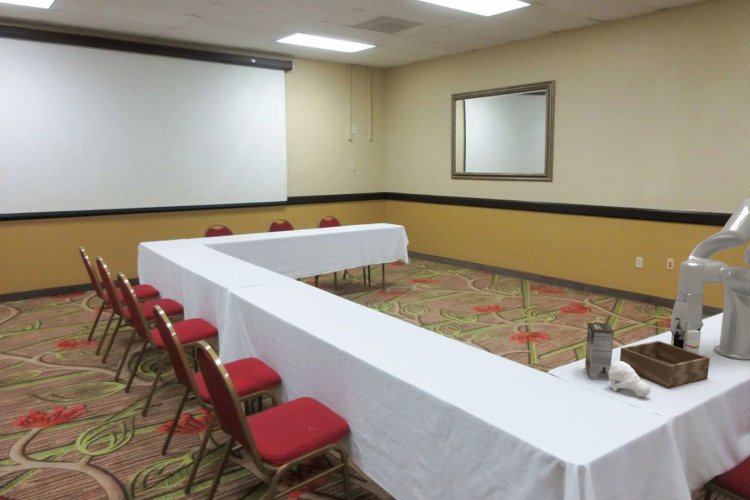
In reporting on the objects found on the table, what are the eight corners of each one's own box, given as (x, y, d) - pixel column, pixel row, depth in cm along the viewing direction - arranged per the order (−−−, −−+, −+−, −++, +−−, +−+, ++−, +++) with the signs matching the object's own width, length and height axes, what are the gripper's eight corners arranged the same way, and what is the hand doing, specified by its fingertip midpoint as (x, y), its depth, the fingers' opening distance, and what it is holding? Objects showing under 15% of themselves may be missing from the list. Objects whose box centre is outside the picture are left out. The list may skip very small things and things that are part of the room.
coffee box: (584, 368, 178) (587, 321, 175) (604, 369, 176) (608, 322, 174) (589, 379, 169) (592, 330, 166) (610, 381, 167) (614, 331, 165)
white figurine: (619, 356, 164) (658, 372, 155) (614, 382, 166) (652, 399, 157) (607, 361, 160) (646, 377, 151) (603, 386, 162) (641, 404, 153)
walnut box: (656, 360, 185) (658, 340, 184) (707, 379, 169) (709, 358, 168) (619, 368, 178) (620, 347, 177) (668, 388, 162) (670, 366, 161)
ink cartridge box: (698, 365, 181) (703, 323, 179) (684, 365, 180) (689, 323, 178) (682, 355, 189) (686, 315, 187) (668, 356, 189) (672, 316, 187)
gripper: (696, 292, 188) (691, 341, 191) (662, 297, 181) (657, 348, 184) (717, 297, 181) (711, 348, 184) (682, 302, 174) (677, 355, 177)
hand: (684, 347), depth 184 cm, fingers closed on ink cartridge box, 6 cm apart
